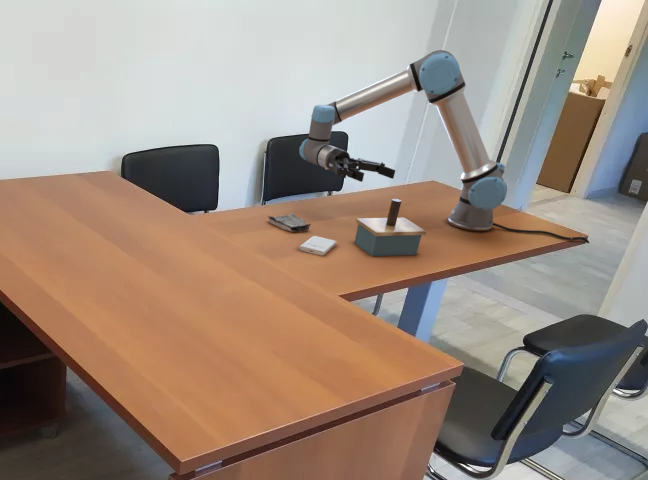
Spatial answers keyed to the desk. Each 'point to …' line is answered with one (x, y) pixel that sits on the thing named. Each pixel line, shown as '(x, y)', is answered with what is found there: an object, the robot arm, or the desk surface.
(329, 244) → the hard drive
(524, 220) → the desk surface
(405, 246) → the toy box
